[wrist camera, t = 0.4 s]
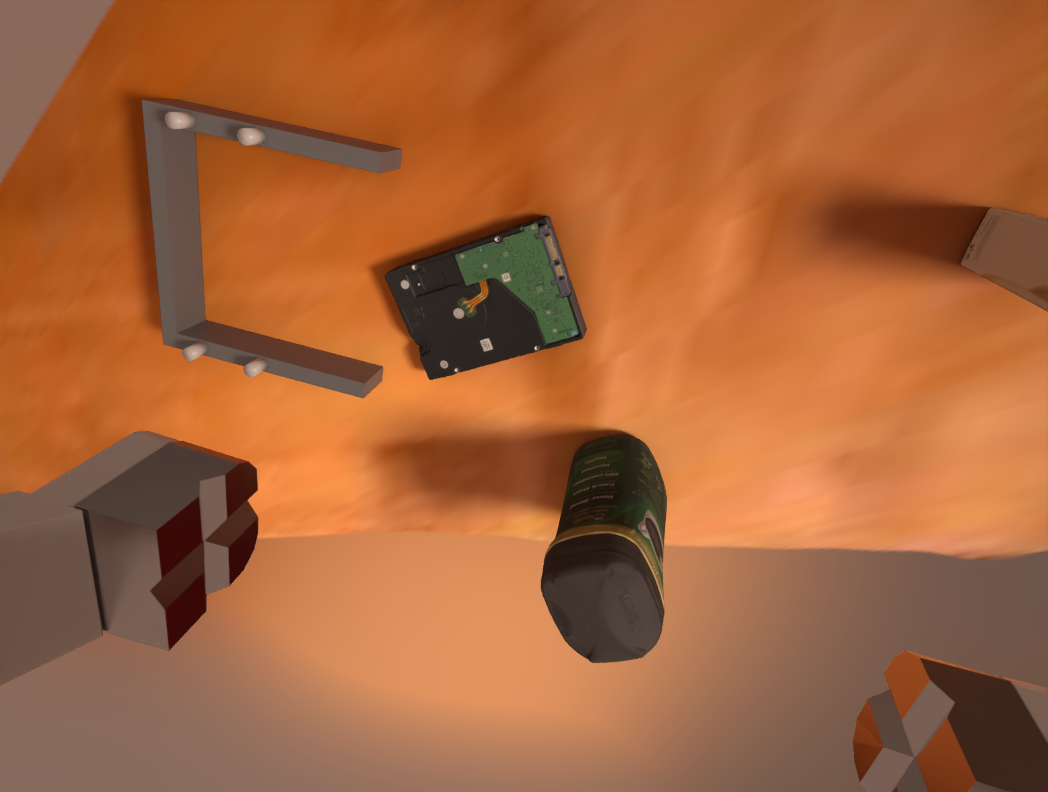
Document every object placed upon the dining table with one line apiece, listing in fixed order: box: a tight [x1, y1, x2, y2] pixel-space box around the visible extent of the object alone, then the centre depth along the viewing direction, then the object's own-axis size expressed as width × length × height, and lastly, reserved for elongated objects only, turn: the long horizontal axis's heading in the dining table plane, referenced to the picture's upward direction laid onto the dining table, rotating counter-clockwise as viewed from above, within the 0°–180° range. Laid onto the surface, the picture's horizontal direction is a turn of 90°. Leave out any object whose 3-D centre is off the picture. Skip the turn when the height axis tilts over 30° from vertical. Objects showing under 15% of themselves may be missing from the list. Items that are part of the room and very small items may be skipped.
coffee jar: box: [541, 435, 667, 663], centre depth 51 cm, size 10×8×19 cm
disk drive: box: [385, 216, 587, 380], centre depth 54 cm, size 10×3×15 cm
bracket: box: [142, 99, 401, 398], centre depth 54 cm, size 21×20×6 cm
